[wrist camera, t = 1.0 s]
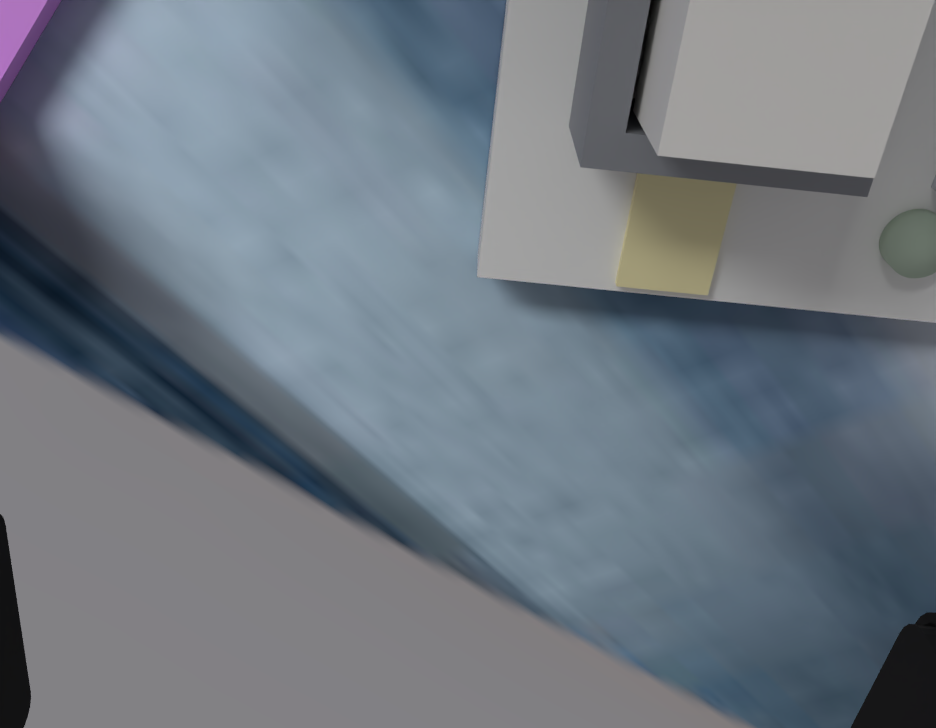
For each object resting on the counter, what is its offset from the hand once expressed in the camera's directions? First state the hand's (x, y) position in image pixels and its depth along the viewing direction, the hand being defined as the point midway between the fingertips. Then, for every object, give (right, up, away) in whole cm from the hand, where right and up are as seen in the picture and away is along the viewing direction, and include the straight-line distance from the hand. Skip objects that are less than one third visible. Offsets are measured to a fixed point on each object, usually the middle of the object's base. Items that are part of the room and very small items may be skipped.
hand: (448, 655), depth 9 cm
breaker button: (+7, +12, +13) cm, 19 cm away
